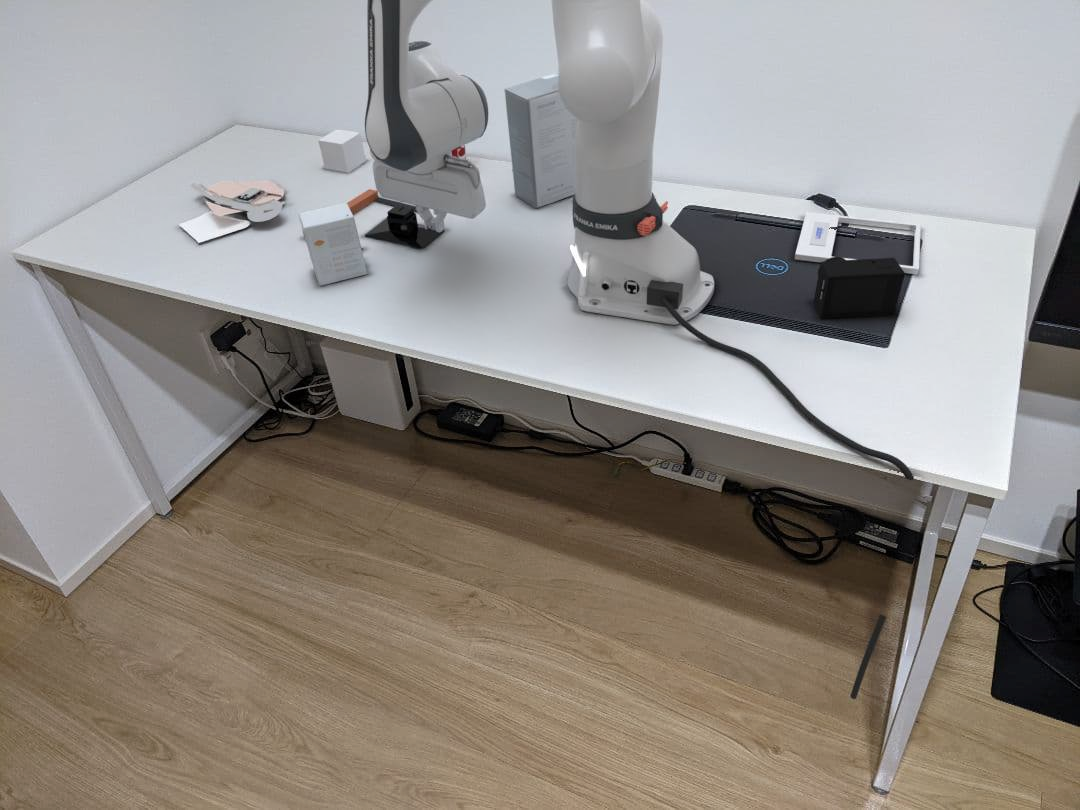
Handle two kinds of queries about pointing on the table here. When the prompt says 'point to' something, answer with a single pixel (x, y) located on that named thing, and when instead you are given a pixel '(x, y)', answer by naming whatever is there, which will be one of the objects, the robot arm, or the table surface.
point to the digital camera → (858, 287)
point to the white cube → (342, 150)
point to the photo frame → (820, 238)
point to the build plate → (403, 229)
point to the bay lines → (392, 204)
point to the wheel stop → (362, 201)
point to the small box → (333, 243)
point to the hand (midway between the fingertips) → (435, 229)
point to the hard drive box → (541, 141)
